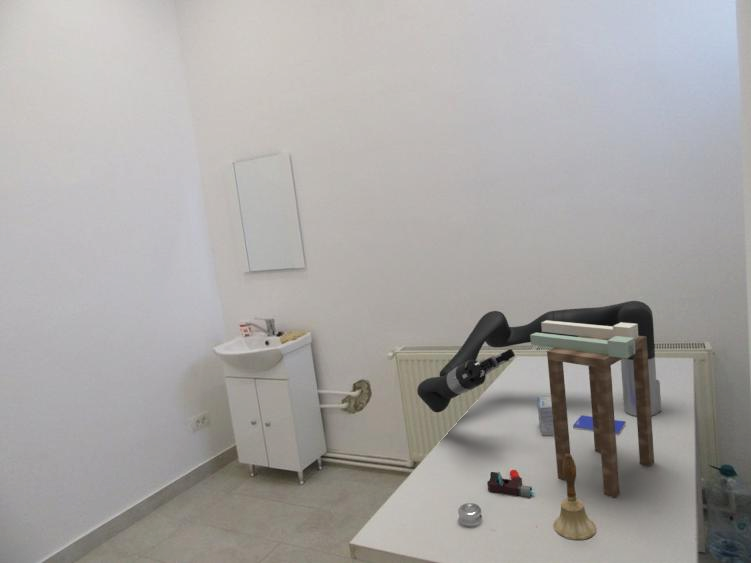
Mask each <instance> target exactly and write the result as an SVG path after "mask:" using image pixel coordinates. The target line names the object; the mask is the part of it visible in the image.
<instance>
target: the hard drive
mask: <svg viewBox="0 0 751 563" xmlns="http://www.w3.org/2000/svg"><path fill="white" fill-rule="evenodd" d="M625 424H626V421H624V420H617V419H615V433H616V436H617V437H618V436H620V434H621V432H622V431H623V429H624V428H625V426H626V425H627V424H626V425H625ZM572 428H573V429H574V430H578V431H579V430H580V431H587V432H593V433H594V431H593V418H592V416H589V415H584V414H583V415H582V414H581V415H580V416H579V417H578V419H577V420H576V421H575V422H574V423H573V424H572Z"/></svg>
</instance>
